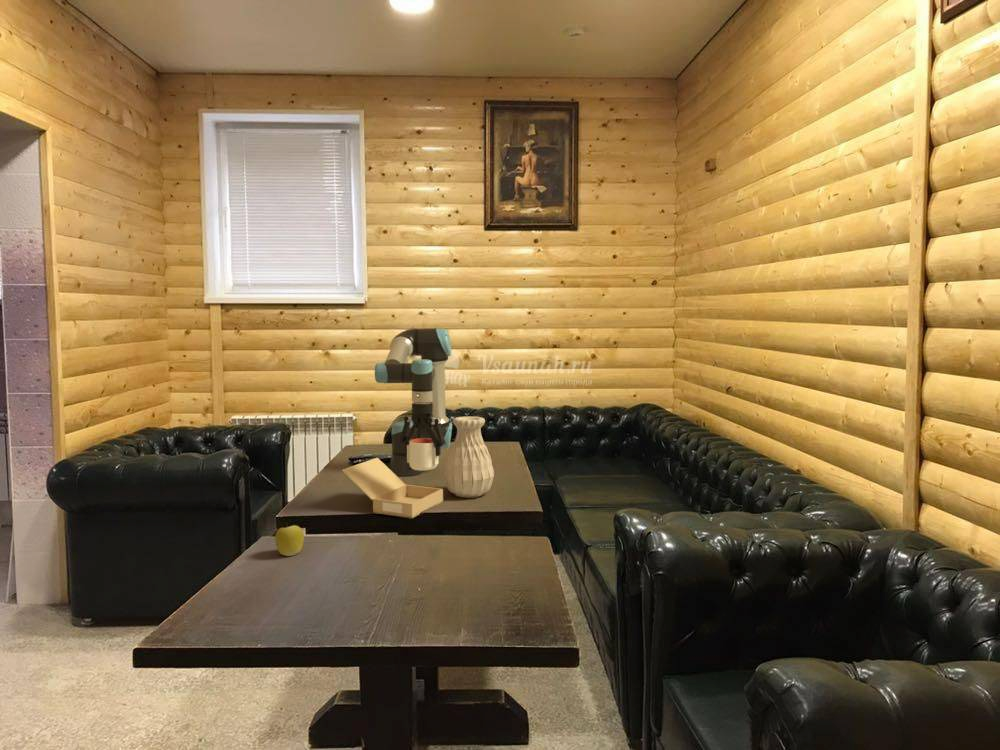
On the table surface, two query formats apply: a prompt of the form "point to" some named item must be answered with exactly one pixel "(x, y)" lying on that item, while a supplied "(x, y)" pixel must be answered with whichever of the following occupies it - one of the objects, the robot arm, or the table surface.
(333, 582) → the table surface
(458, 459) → the vase
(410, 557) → the table surface
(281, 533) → the apple
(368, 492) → the lid
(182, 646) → the table surface
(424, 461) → the cup
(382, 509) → the box
